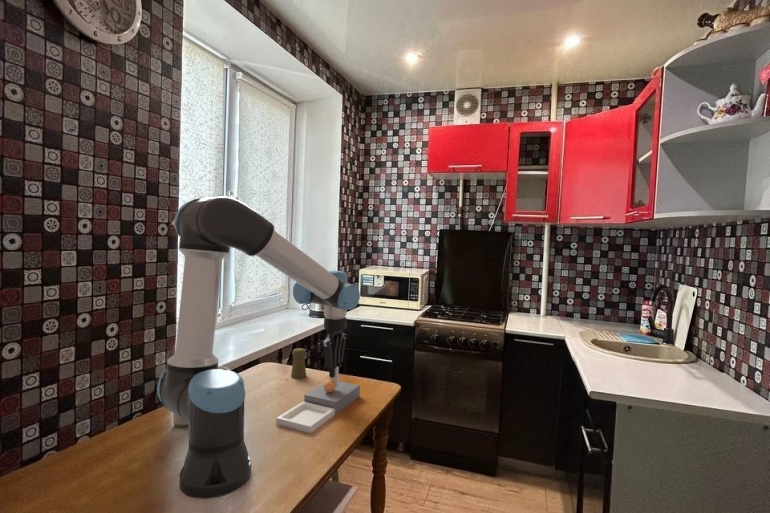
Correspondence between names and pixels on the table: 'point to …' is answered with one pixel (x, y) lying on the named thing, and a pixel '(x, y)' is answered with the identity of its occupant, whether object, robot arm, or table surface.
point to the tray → (305, 417)
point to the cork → (298, 363)
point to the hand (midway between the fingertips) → (333, 385)
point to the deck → (334, 396)
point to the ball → (329, 386)
